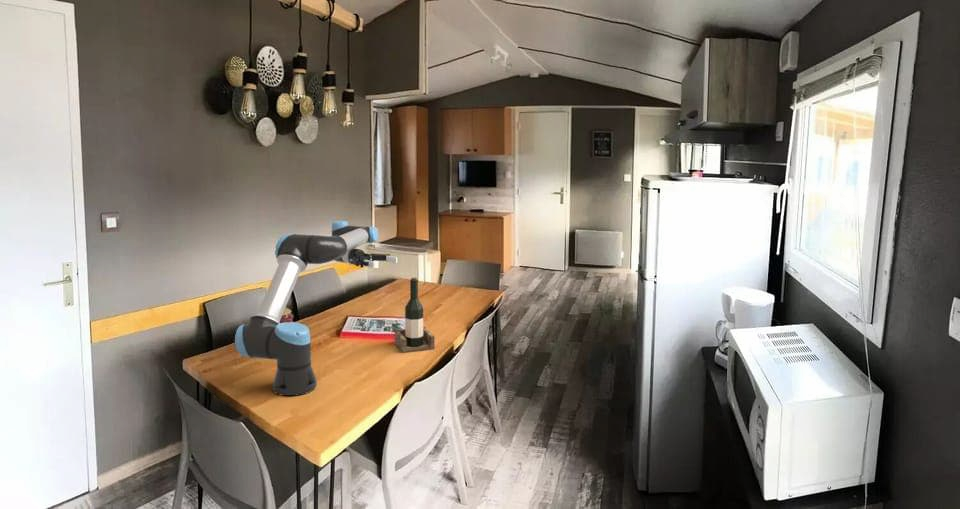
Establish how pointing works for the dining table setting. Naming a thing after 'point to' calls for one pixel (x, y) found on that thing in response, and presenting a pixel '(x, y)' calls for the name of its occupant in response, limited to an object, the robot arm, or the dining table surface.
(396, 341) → the walnut rest
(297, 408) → the dining table surface
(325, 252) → the robot arm
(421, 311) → the wine bottle
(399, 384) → the dining table surface
